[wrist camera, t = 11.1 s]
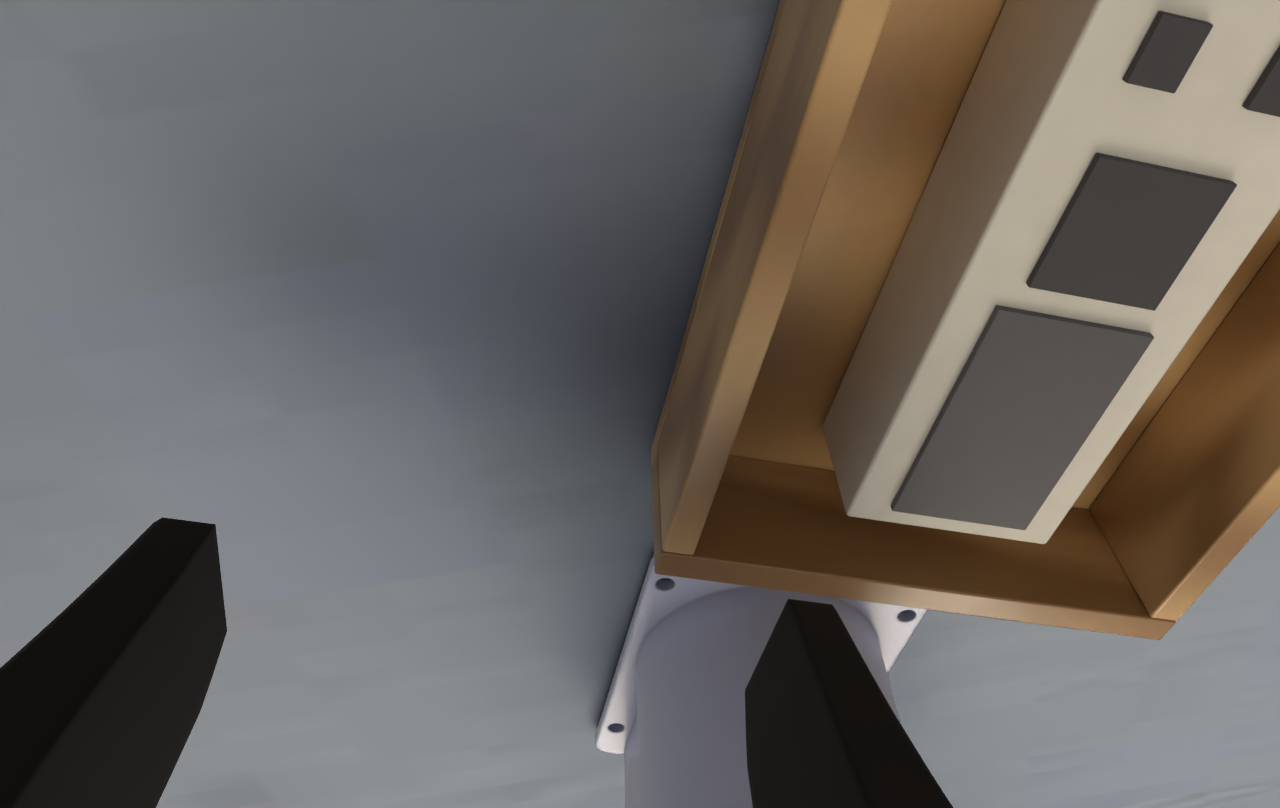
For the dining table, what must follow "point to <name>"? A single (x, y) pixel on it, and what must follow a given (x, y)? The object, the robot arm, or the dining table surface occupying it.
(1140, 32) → the remote
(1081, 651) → the dining table surface
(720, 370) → the tidy box
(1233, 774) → the dining table surface
